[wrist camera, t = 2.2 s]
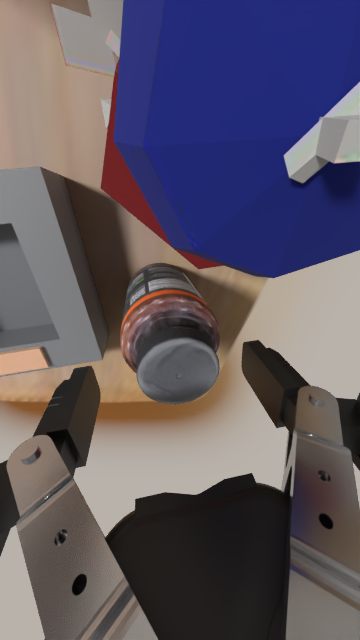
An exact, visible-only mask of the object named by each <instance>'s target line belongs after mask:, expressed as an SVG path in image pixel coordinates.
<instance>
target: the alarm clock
mask: <svg viewBox="0 0 360 640" xmlns="http://www.w3.org/2000/svg"><path fill="white" fill-rule="evenodd" d="M87 1H88V5H89V9H90V14H91V17H90V16H87V15H84V14H81V13H78V12H75V11H72V10H69V9H66V8H63V7H60V6H57V5H55V4H52V3H50V4H51V8H52V12H53V16H54V20H55V24H56V28H57V32H58V36H59V40H60V44H61V48H62V52H63V56H64V60H65V64H66V66H71V67H75V68H79V69H83V70H88V71H92V72H96V73H100V74H104V75H109V76H113V77H114V82H113V90H112V98H108V99H101V104H102V109H103V114H104V119H105V124H106V129H108V132H107V140H106V148H105V157H104V165H103V173H102V181H101V189H102V190H104V191H105V192H106V193H107V194H108V195H110V196H111V197H112V198H113V199H114V200H116V201H117V202H118V203H119V204H121V205H122V206H123V207H124V208H125V209H127V210H128V211H129V212H130V213H131V214H133V215H134V216H135V217H136V218H137V219H139V220H140V221H141V222H142V223H143V224H145V225H146V226H147V227H148V228H149V229H151V230H152V231H153V232H154V233H156V234H157V235H158V236H159V237H160V238H162V239H163V240H164V241H165V242H166V243H168V244H169V245H170V246H171V247H172V248H174V249H175V250H176V251H177V252H178V253H180V254H181V255H182V256H183V257H184V258H186V259H187V260H188V261H189V262H191V263H192V264H193V265H194V266H195V267H197V268H198V269H203V268H210V267H216V266H222V265H224V266H227V267H230V268H233V269H236V270H239V271H242V272H245V273H248V274H251V275H254V276H259V277H269V278H275V277H278V276H282V275H285V274H288V273H291V272H294V271H297V270H300V269H303V268H306V267H309V266H312V265H315V264H318V263H321V262H325V261H328V260H331V259H334V258H337V257H340V256H343V255H346V254H349V253H352V252H355V251H358V250H360V0H87ZM113 52H114V54H115V55H116V56H117V57H118V58H119V61H118V63H117V66H116V65H115V60H114V56H113Z"/></svg>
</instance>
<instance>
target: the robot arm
mask: <svg viewBox="0 0 360 640" xmlns="http://www.w3.org/2000/svg"><path fill="white" fill-rule="evenodd" d="M242 371H243V374H244V376H245V378H246V380H247V381H248V383H249V384H250V386H251V388H252V389H253V391H254V392H255V394H256V396H257V397H258V399H259V400H260V402H261V404H262V405H263V407H264V408H265V410H266V412H267V413H268V415H269V417H270V418H271V420H272V421H273V423H274V424H275V426H276V428H279V427H284V426H286V428H287V429H288V431H289V432H288V438H287V448H286V457H285V467H284V475H283V482H282V487H281V490H279V489H277V488H275V487H272V486H269V485H266V484H262V483H256V481H255V479H254V477H253V475H252V473H250V474H246V475H242V476H237V477H233V478H228V479H224V480H223V481H221V482H219V483H217V484H216V485H214V486H212V487H210V488H209V489H207V490H205V491H204V492H202V493H200V494H198V495H190V494H178V493H166V492H165V493H161V494H157V495H152V496H147V497H143V498H138V499H135V510H134V511H133V512H131V513H129V514H128V515H127V516H125V517H124V518H123V519H122V520H121V521H119V522H118V523H117V524H116V525H115V527H114V528H113V529H112V530H111V531H110V532H109V534H108V535H107V536H106V538H105V536H104V534H103V532H102V531H101V529H100V527H99V525H98V523H97V522H96V520H95V518H94V516H93V514H92V512H91V510H90V508H89V507H88V505H87V503H86V501H85V499H84V497H83V496H82V494H81V492H80V490H79V488H78V486H77V484H76V483H75V481H74V479H73V476H74V472H75V469H76V468H78V467H82V466H86V461H87V457H88V452H89V448H90V443H91V439H92V434H93V430H94V425H95V421H96V416H97V412H98V408H99V403H100V388H99V385H98V382H97V379H96V376H95V373H94V370H93V368H92V366H86V367H80V368H75V369H74V370H73V373H72V375H71V377H70V379H69V380H64V381H63V382H62V383H61V384H60V385H59V386H58V387H57V388H56V390H55V392H54V394H53V396H52V400H50V402H49V404H48V407H47V409H46V411H45V412H44V415H43V417H42V419H41V421H40V423H39V425H38V427H37V429H36V431H35V433H34V435H33V437H32V438H30V439H28V440H26V441H24V442H23V443H22V444H21V445H19V446H18V447H17V448H16V449H15V450H14V451H13V453H12V454H11V456H10V457H9V459H8V460H7V461H5V462H3V463H0V556H1V553H2V550H3V547H4V545H5V542H6V539H7V537H8V534H9V531H10V529H11V528H12V527H13V526H15V525H17V530H18V535H19V539H20V542H21V546H22V550H23V554H24V558H25V562H26V566H27V570H28V574H29V577H30V581H31V585H32V589H33V592H34V597H35V600H36V604H37V608H38V612H39V616H40V619H41V623H42V627H43V631H44V635H45V640H360V508H359V502H358V495H357V489H356V482H355V476H354V468H353V463H354V464H355V465H356V466H357V468H358V469H359V470H360V393H359V396H358V398H357V400H355V399H343V398H335V397H334V396H333V395H332V394H331V393H330V392H328V391H326V390H324V389H322V388H319V387H315V386H310V385H309V384H308V383H307V382H306V381H305V380H304V378H303V377H301V375H300V374H299V373H298V372H297V371H296V370H295V369H294V368H293V367H292V366H290V364H289V363H288V362H287V361H285V359H284V358H283V357H282V356H281V355H280V354H279V353H278V352H276V351H274V350H273V349H271V348H265V346H264V345H263V344H262V343H261V342H260V341H259V340H256V341H249V342H244V343H243V352H242ZM352 461H353V462H352Z"/></svg>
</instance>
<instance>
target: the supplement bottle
mask: <svg viewBox="0 0 360 640" xmlns="http://www.w3.org/2000/svg"><path fill="white" fill-rule="evenodd" d="M219 343H220V331H219V326H218V323H217V320H216V318H215V316H214V314H213V313H212V311H211V310H210V308H209V307H208V305H207V304H206V302H205V301H204V300H203V298H202V297H201V295H200V294H199V293H198V291H197V289H196V288H195V287H194V286H193V284H192V283H191V281H190V280H189V279H188V277H187V276H186V275H185V274H184V273H183V272H182V271H181V270H180V269H178V268H176V267H175V266H172V265H169V264H165V263H156V264H151V265H147V266H146V267H144V268H142V269H141V270H139V271H138V272H137V273H136V274H135V275H134V276H133V278H132V279H131V281H130V283H129V286H128V289H127V294H126V300H125V306H124V313H123V320H122V326H121V333H120V344H121V351H122V354H123V357H124V359H125V361H126V363H127V364H128V365H129V367H130V368H131V369H132V370H133V371H134V372H135V373H137V381H138V384H139V386H140V388H141V390H142V391H143V392H144V393H145V394H146V395H147V396H148V397H149V398H151V399H153V400H155V401H157V402H160V403H166V404H181V403H186V402H190V401H193V400H195V399H197V398H199V397H201V396H202V395H203V394H205V393H206V392H207V391H208V390H209V389H210V388H211V387H212V386H213V384H214V383H215V381H216V379H217V377H218V374H219V360H218V357H217V355H216V352H217V350H218V347H219Z"/></svg>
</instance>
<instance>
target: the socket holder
mask: <svg viewBox="0 0 360 640" xmlns="http://www.w3.org/2000/svg"><path fill="white" fill-rule="evenodd" d="M108 337H109V333H108V329H107V326H106V322H105V319H104V315H103V312H102V308H101V305H100V301H99V298H98V294H97V291H96V287H95V284H94V280H93V277H92V273H91V270H90V266H89V263H88V259H87V256H86V253H85V249H84V246H83V242H82V239H81V235H80V232H79V228H78V225H77V221H76V218H75V214H74V211H73V207H72V204H71V200H70V197H69V193H68V190H67V186H66V183H65V179H64V176H61V175H59V174H57V173H54V172H52V171H49V170H47V169H44V168H42V167H30V168H17V169H4V170H0V377H2V376H8V375H14V374H20V373H26V372H32V371H38V370H44V369H50V368H56V367H63V366H69V365H75V364H81V363H87V362H93V361H99V360H103V357H104V353H105V349H106V345H107V341H108Z"/></svg>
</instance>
